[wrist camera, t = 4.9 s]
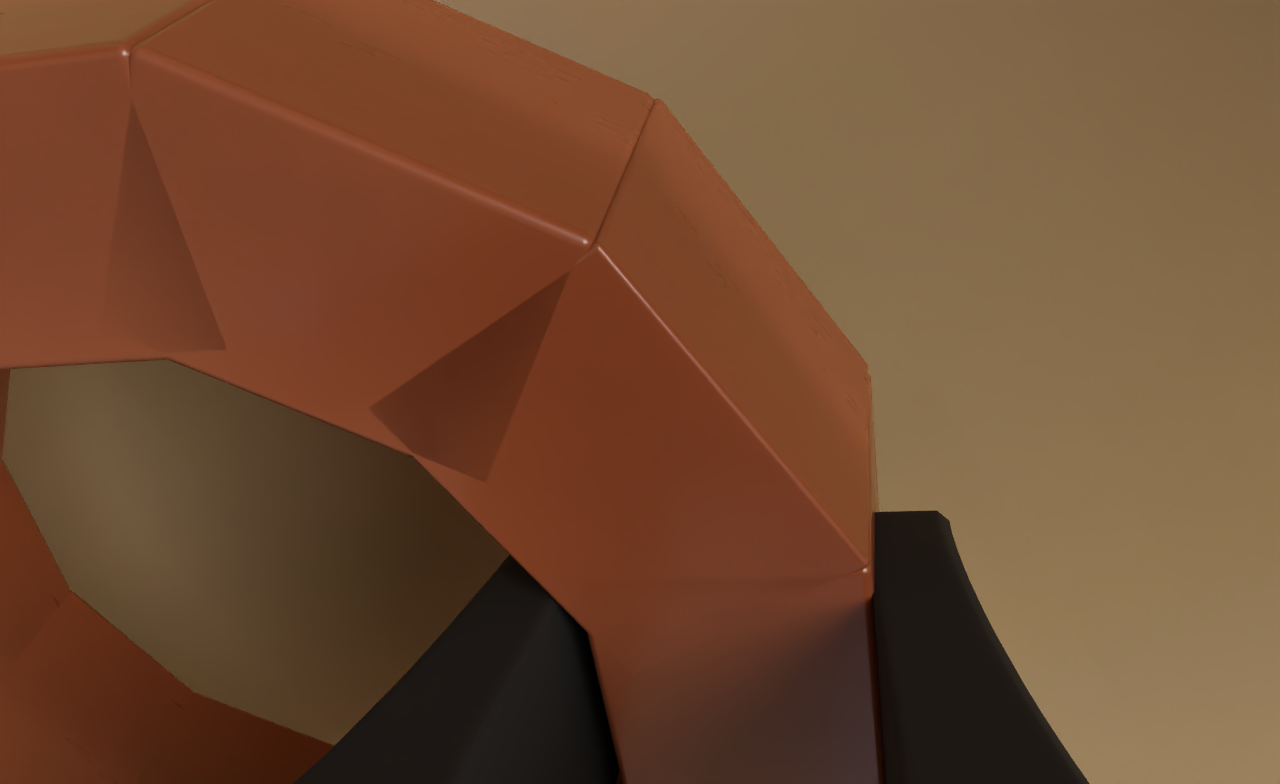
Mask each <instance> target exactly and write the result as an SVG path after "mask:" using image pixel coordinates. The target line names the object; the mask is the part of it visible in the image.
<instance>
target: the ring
mask: <svg viewBox="0 0 1280 784" xmlns="http://www.w3.org/2000/svg"><path fill="white" fill-rule="evenodd" d="M165 359H168V360H170V361H173V362H175V363H178V364H180V365H183V366H185V367H188V368H190V369H193V370H195V371H198V372H200V373H203V374H205V375H208V376H210V377H213V378H215V379H218V380H220V381H223V382H225V383H228V384H230V385H233V386H235V387H238V388H240V389H243V390H245V391H248V392H250V393H253V394H255V395H258V396H260V397H263V398H265V399H268V400H270V401H273V402H275V403H278V404H280V405H282V406H285V407H287V408H290V409H292V410H295V411H297V412H300V413H302V414H305V415H307V416H310V417H312V418H315V419H317V420H320V421H322V422H325V423H327V424H330V425H332V426H335V427H337V428H340V429H342V430H345V431H347V432H350V433H352V434H355V435H357V436H360V437H362V438H365V439H367V440H370V441H372V442H375V443H377V444H380V445H382V446H385V447H387V448H390V449H392V450H395V451H397V452H400V453H402V454H404V455H407V456H409V457H412V458H414V459H415V460H416V461H417V462H418V463H419V464H420V465H421V466H422V467H423V468H424V469H425V470H426V471H427V472H428V473H429V474H430V475H431V476H432V477H433V478H434V479H435V480H436V481H437V482H438V483H439V484H440V485H441V486H442V487H443V488H444V489H445V490H446V491H447V492H448V493H449V494H450V495H451V496H452V497H453V498H454V499H455V500H456V501H457V502H458V503H459V504H460V505H461V506H462V507H463V508H464V509H465V510H466V511H467V512H468V513H469V514H470V515H471V516H472V517H473V518H474V519H475V520H476V521H477V522H478V523H479V524H480V525H481V526H482V527H483V528H484V529H485V530H486V531H487V532H488V533H489V534H490V535H491V536H492V537H493V538H494V539H495V540H496V541H497V542H498V543H499V544H500V545H501V546H502V547H503V548H504V549H505V550H506V551H507V552H508V553H509V554H510V555H511V556H512V557H513V558H514V559H515V560H516V561H517V562H518V563H519V564H520V565H521V566H522V567H523V568H524V569H525V570H526V571H527V572H528V573H529V574H530V575H531V576H532V577H533V578H534V580H535V581H536V582H537V583H538V584H539V585H540V586H541V587H542V588H543V589H544V590H545V591H546V592H547V593H548V594H549V595H550V596H551V597H552V598H553V599H554V600H555V601H556V602H557V603H558V604H559V605H560V606H561V607H562V608H563V609H564V610H565V611H566V612H567V613H568V614H569V615H570V616H571V617H572V618H573V619H574V620H575V621H576V622H577V623H578V624H579V625H580V626H581V627H582V628H583V629H584V630H585V631H586V632H587V634H588V639H589V643H590V647H591V651H592V655H593V660H594V664H595V668H596V672H597V677H598V681H599V685H600V689H601V694H602V698H603V702H604V706H605V711H606V715H607V719H608V723H609V728H610V732H611V736H612V740H613V744H614V749H615V753H616V757H617V761H618V766H619V770H620V772H619V776H618V780H617V784H886V779H885V764H884V750H883V735H882V720H881V706H880V691H879V677H878V662H877V648H876V633H875V618H874V604H873V593H874V557H875V512H879V501H878V485H877V470H876V454H875V438H874V423H873V407H872V391H871V377H870V375H869V374H868V366H867V363H866V362H865V361H864V359H863V358H862V357H861V356H860V354H859V353H858V352H857V350H856V349H855V348H854V347H853V345H852V344H851V343H850V341H849V340H848V339H847V338H846V336H845V335H844V334H843V332H842V331H841V330H840V329H839V327H838V326H837V325H836V323H835V322H834V321H833V320H832V318H831V317H830V316H829V314H828V313H827V312H826V311H825V309H824V308H823V307H822V305H821V304H820V303H819V302H818V300H817V299H816V298H815V296H814V295H813V294H812V293H811V291H810V290H809V289H808V288H807V286H806V285H805V284H804V282H803V281H802V280H801V279H800V277H799V276H798V275H797V273H796V272H795V271H794V270H793V268H792V267H791V266H790V264H789V263H788V262H787V261H786V259H785V258H784V257H783V255H782V254H781V253H780V252H779V250H778V249H777V248H776V246H775V245H774V244H773V243H772V241H771V240H770V239H769V237H768V236H767V235H766V234H765V232H764V231H763V230H762V228H761V227H760V226H759V225H758V223H757V222H756V221H755V219H754V218H753V217H752V216H751V214H750V213H749V212H748V210H747V209H746V208H745V207H744V205H743V204H742V203H741V201H740V200H739V199H738V198H737V196H736V195H735V194H734V192H733V191H732V190H731V189H730V187H729V186H728V185H727V183H726V182H725V181H724V180H723V178H722V177H721V176H720V174H719V173H718V172H717V171H716V169H715V168H714V167H713V165H712V164H711V163H710V162H709V160H708V159H707V158H706V156H705V155H704V154H703V153H702V151H701V150H700V149H699V147H698V146H697V145H696V144H695V142H694V141H693V140H692V139H691V137H690V136H689V135H688V133H687V132H686V131H685V130H684V128H683V127H682V126H681V124H680V123H679V122H678V121H677V119H676V118H675V117H674V115H673V114H672V113H671V112H670V110H669V109H668V108H667V106H666V105H665V104H664V103H663V101H661V100H660V99H656V100H654V99H653V98H652V97H651V96H650V95H649V94H648V93H645V92H643V91H641V90H638V89H636V88H634V87H631V86H629V85H627V84H624V83H622V82H620V81H618V80H615V79H613V78H611V77H608V76H606V75H604V74H601V73H599V72H597V71H594V70H592V69H590V68H588V67H585V66H583V65H581V64H578V63H576V62H574V61H571V60H569V59H567V58H564V57H562V56H560V55H557V54H555V53H553V52H551V51H548V50H546V49H544V48H541V47H539V46H537V45H534V44H532V43H530V42H527V41H525V40H523V39H521V38H518V37H516V36H514V35H511V34H509V33H507V32H504V31H502V30H500V29H497V28H495V27H493V26H490V25H488V24H486V23H484V22H481V21H479V20H477V19H474V18H472V17H470V16H467V15H465V14H463V13H460V12H458V11H456V10H454V9H451V8H449V7H447V6H444V5H442V4H440V3H437V2H435V1H433V0H0V784H293V783H294V782H295V781H296V780H297V779H298V778H300V777H301V776H302V775H303V774H304V773H305V772H307V771H308V770H309V769H310V768H311V767H312V766H313V765H314V764H315V763H316V762H318V761H319V760H320V759H321V758H322V757H323V756H324V755H325V754H326V753H327V752H328V751H329V750H331V749H332V748H333V747H334V745H331V744H329V743H326V742H323V741H321V740H318V739H315V738H313V737H310V736H308V735H305V734H302V733H300V732H297V731H294V730H292V729H289V728H286V727H284V726H281V725H279V724H276V723H273V722H271V721H268V720H265V719H263V718H260V717H258V716H255V715H252V714H250V713H247V712H244V711H242V710H239V709H237V708H234V707H231V706H229V705H226V704H223V703H221V702H218V701H215V700H213V699H210V698H208V697H205V696H202V695H200V694H197V693H194V692H193V691H191V690H190V689H189V688H188V687H187V686H185V685H184V684H183V683H182V682H181V681H179V680H178V679H177V678H176V677H175V676H173V675H172V674H171V673H170V672H169V671H167V670H166V669H165V668H164V667H163V666H161V665H160V664H159V663H158V662H157V661H155V660H154V659H153V658H152V657H151V656H149V655H148V654H147V653H146V652H145V651H143V650H142V649H141V648H140V647H139V646H137V645H136V644H135V643H134V642H133V641H131V640H130V639H129V638H128V637H127V636H125V635H124V634H123V633H122V632H121V631H119V630H118V629H117V628H116V627H115V626H113V625H112V624H111V623H110V622H109V621H107V620H106V619H105V618H104V617H103V616H101V615H100V614H99V613H98V612H97V611H95V610H94V609H93V608H92V607H91V606H89V605H88V604H87V603H86V602H85V601H83V600H82V599H81V598H80V597H79V596H77V595H76V594H75V593H74V592H73V591H71V590H70V588H69V586H68V584H67V582H66V580H65V578H64V576H63V574H62V573H61V571H60V569H59V567H58V565H57V563H56V561H55V559H54V557H53V555H52V553H51V551H50V549H49V548H48V546H47V544H46V542H45V540H44V538H43V536H42V534H41V532H40V530H39V528H38V526H37V524H36V523H35V521H34V519H33V517H32V515H31V513H30V511H29V509H28V507H27V505H26V503H25V501H24V499H23V498H22V496H21V494H20V492H19V490H18V488H17V486H16V484H15V482H14V480H13V478H12V476H11V475H10V473H9V471H8V469H7V467H6V465H5V463H4V461H3V459H2V455H3V444H4V433H5V422H6V411H7V400H8V389H9V378H10V369H15V368H32V367H48V366H65V365H82V364H98V363H115V362H131V361H148V360H165Z"/></svg>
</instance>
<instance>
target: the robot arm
mask: <svg viewBox="0 0 1280 784" xmlns="http://www.w3.org/2000/svg"><path fill="white" fill-rule="evenodd" d="M873 604H874V618H875V633H876V648H877V662H878V677H879V691H880V706H881V720H882V735H883V750H884V764H885V779H886V784H1089V782H1088V781H1087V779H1086V778H1085V777H1084V775H1083V774H1082V772H1081V771H1080V769H1079V768H1078V767H1077V765H1076V764H1075V762H1074V761H1073V759H1072V758H1071V757H1070V755H1069V754H1068V752H1067V751H1066V749H1065V747H1064V746H1063V744H1062V743H1061V741H1060V740H1059V738H1058V737H1057V735H1056V734H1055V732H1054V731H1053V729H1052V728H1051V726H1050V725H1049V723H1048V722H1047V720H1046V719H1045V717H1044V716H1043V714H1042V713H1041V711H1040V709H1039V708H1038V706H1037V704H1036V703H1035V701H1034V700H1033V698H1032V696H1031V695H1030V693H1029V692H1028V690H1027V688H1026V687H1025V685H1024V683H1023V681H1022V680H1021V678H1020V676H1019V674H1018V673H1017V671H1016V669H1015V667H1014V666H1013V664H1012V662H1011V660H1010V659H1009V657H1008V655H1007V653H1006V651H1005V650H1004V648H1003V646H1002V644H1001V643H1000V641H999V639H998V637H997V636H996V634H995V632H994V630H993V628H992V626H991V624H990V622H989V620H988V618H987V616H986V614H985V612H984V610H983V608H982V606H981V604H980V602H979V600H978V598H977V595H976V593H975V591H974V589H973V587H972V585H971V583H970V580H969V578H968V576H967V573H966V571H965V569H964V566H963V564H962V561H961V558H960V556H959V553H958V550H957V547H956V544H955V541H954V538H953V535H952V531H951V527H950V522H949V520H948V519H946V518H945V517H944V516H943V515H942V514H940V513H939V512H938V511H902V512H875V557H874V593H873ZM619 772H620V770H619V766H618V761H617V757H616V753H615V749H614V744H613V740H612V736H611V732H610V728H609V723H608V719H607V715H606V711H605V706H604V702H603V698H602V694H601V689H600V685H599V681H598V677H597V672H596V668H595V664H594V660H593V655H592V651H591V647H590V643H589V639H588V634H587V632H586V631H585V630H584V629H583V628H582V627H581V626H580V625H579V624H578V623H577V622H576V621H575V620H574V619H573V618H572V617H571V616H570V615H569V614H568V613H567V612H566V611H565V610H564V609H563V608H562V607H561V606H560V605H559V604H558V603H557V602H556V601H555V600H554V599H553V598H552V597H551V596H550V595H549V594H548V593H547V592H546V591H545V590H544V589H543V588H542V587H541V586H540V585H539V584H538V583H537V582H536V581H535V580H534V578H533V577H532V576H531V575H530V574H529V573H528V572H527V571H526V570H525V569H524V568H523V567H522V566H521V565H520V564H519V563H518V562H517V561H516V560H515V559H514V558H513V557H512V556H511V555H509V556H508V557H507V558H506V560H505V561H504V562H503V563H502V564H501V566H500V567H499V568H498V569H497V570H496V572H495V573H494V574H493V575H492V576H491V577H490V579H489V580H488V581H487V582H486V583H485V585H484V586H483V587H482V588H481V589H480V590H479V592H478V593H477V594H476V595H475V596H474V597H473V599H472V600H471V601H470V602H469V603H468V604H467V606H466V607H465V608H464V609H463V610H462V611H461V613H460V614H459V615H458V616H457V617H456V618H455V619H454V621H453V622H452V623H451V624H450V625H449V626H448V627H447V628H446V630H445V631H444V632H443V633H442V634H441V635H440V636H439V637H438V638H437V640H436V641H435V642H434V643H433V644H432V645H431V646H430V647H429V649H428V650H427V651H426V652H425V653H424V654H423V655H422V656H421V657H420V659H419V660H418V661H417V662H416V663H415V664H414V665H413V666H412V667H411V669H410V670H409V671H408V672H407V673H406V674H405V675H404V676H403V677H402V678H401V679H400V680H399V681H398V682H397V683H396V684H395V685H394V686H393V687H392V688H391V690H390V691H389V692H388V693H387V694H386V695H385V696H384V697H383V698H382V699H381V700H380V701H379V702H378V703H377V704H376V705H375V706H374V707H373V708H372V709H371V710H370V711H369V712H368V713H367V714H366V715H365V716H364V717H363V718H362V719H361V720H360V721H359V722H358V723H357V724H356V725H355V726H354V727H353V728H352V729H351V730H350V731H349V732H348V733H347V734H346V735H345V736H344V737H343V738H342V739H341V740H340V741H339V742H338V743H337V744H336V745H335V746H334V747H333V748H332V749H331V750H329V751H328V752H327V753H326V754H325V755H324V756H323V757H322V758H321V759H320V760H319V761H318V762H316V763H315V764H314V765H313V766H312V767H311V768H310V769H309V770H308V771H307V772H305V773H304V774H303V775H302V776H301V777H300V778H298V779H297V780H296V781H295V782H294V783H293V784H617V780H618V776H619Z"/></svg>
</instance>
